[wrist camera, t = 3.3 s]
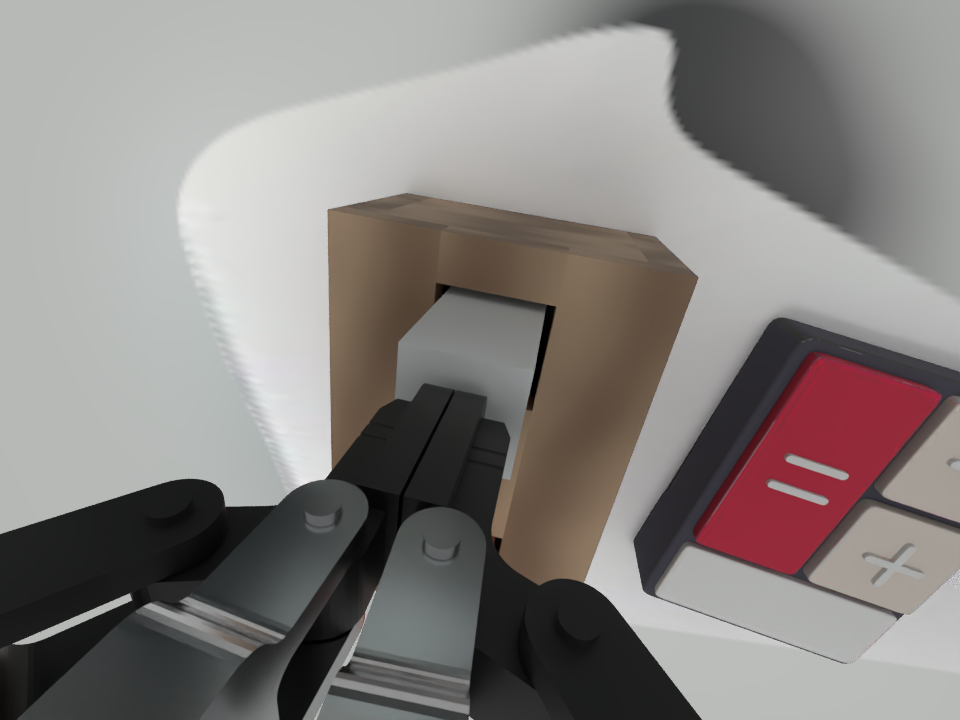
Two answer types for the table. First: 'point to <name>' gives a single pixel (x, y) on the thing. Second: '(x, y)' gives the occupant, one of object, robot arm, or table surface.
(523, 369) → the grey plug
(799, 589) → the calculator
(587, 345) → the block
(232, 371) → the table surface
